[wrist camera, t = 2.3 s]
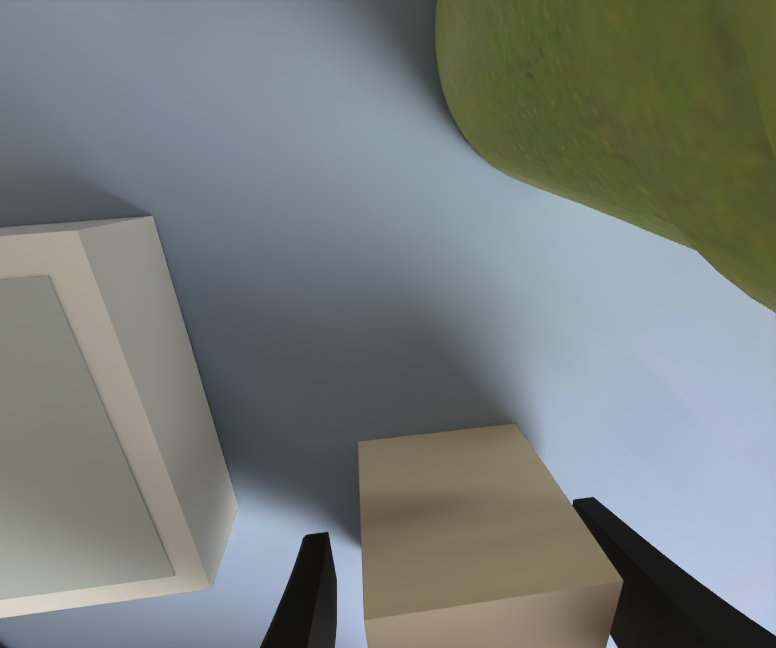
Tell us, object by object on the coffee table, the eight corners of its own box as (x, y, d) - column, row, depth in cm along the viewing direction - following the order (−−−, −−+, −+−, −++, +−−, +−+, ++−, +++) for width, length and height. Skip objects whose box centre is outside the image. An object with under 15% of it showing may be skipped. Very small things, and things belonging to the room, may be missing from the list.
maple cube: (506, 533, 14) (587, 716, 9) (371, 552, 13) (383, 753, 9) (514, 421, 12) (623, 580, 7) (357, 439, 11) (363, 620, 7)
